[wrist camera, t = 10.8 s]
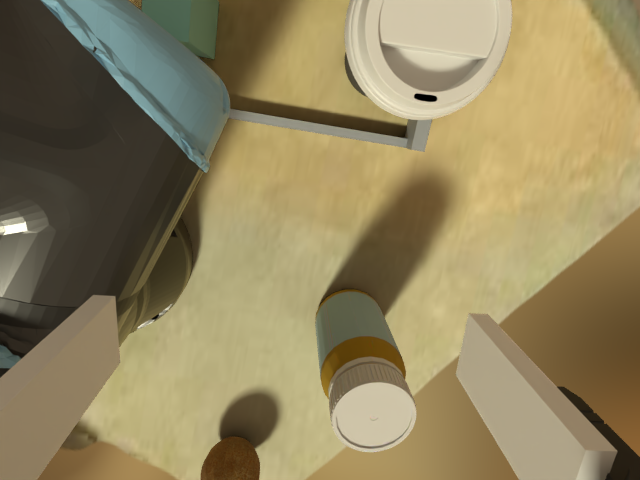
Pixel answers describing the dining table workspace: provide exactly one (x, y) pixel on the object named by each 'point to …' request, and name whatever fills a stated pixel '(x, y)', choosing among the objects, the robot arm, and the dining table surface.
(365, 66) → the coffee cup
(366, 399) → the bottle
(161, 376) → the dining table surface
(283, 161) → the dining table surface
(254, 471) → the fruit
